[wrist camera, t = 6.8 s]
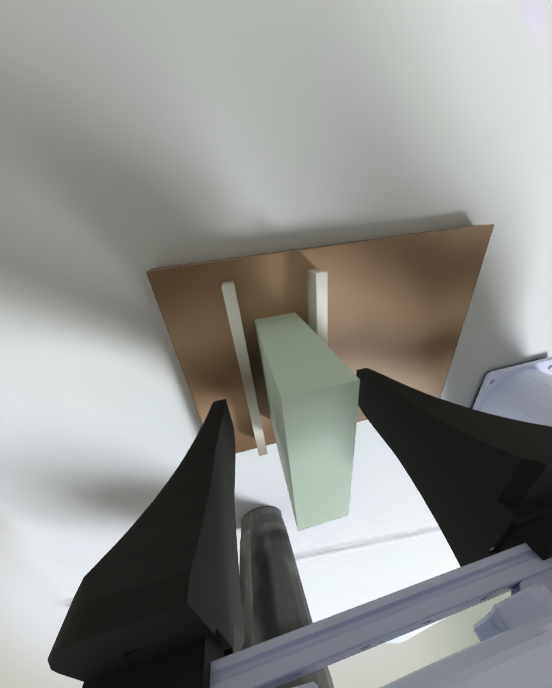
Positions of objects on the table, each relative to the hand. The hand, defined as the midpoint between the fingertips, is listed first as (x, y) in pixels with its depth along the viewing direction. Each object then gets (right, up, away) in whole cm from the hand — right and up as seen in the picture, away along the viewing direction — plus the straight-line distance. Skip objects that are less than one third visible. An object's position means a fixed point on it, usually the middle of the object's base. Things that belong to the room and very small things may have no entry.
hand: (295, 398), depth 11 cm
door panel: (-1, +1, +3) cm, 3 cm away
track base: (+3, +3, +4) cm, 6 cm away
